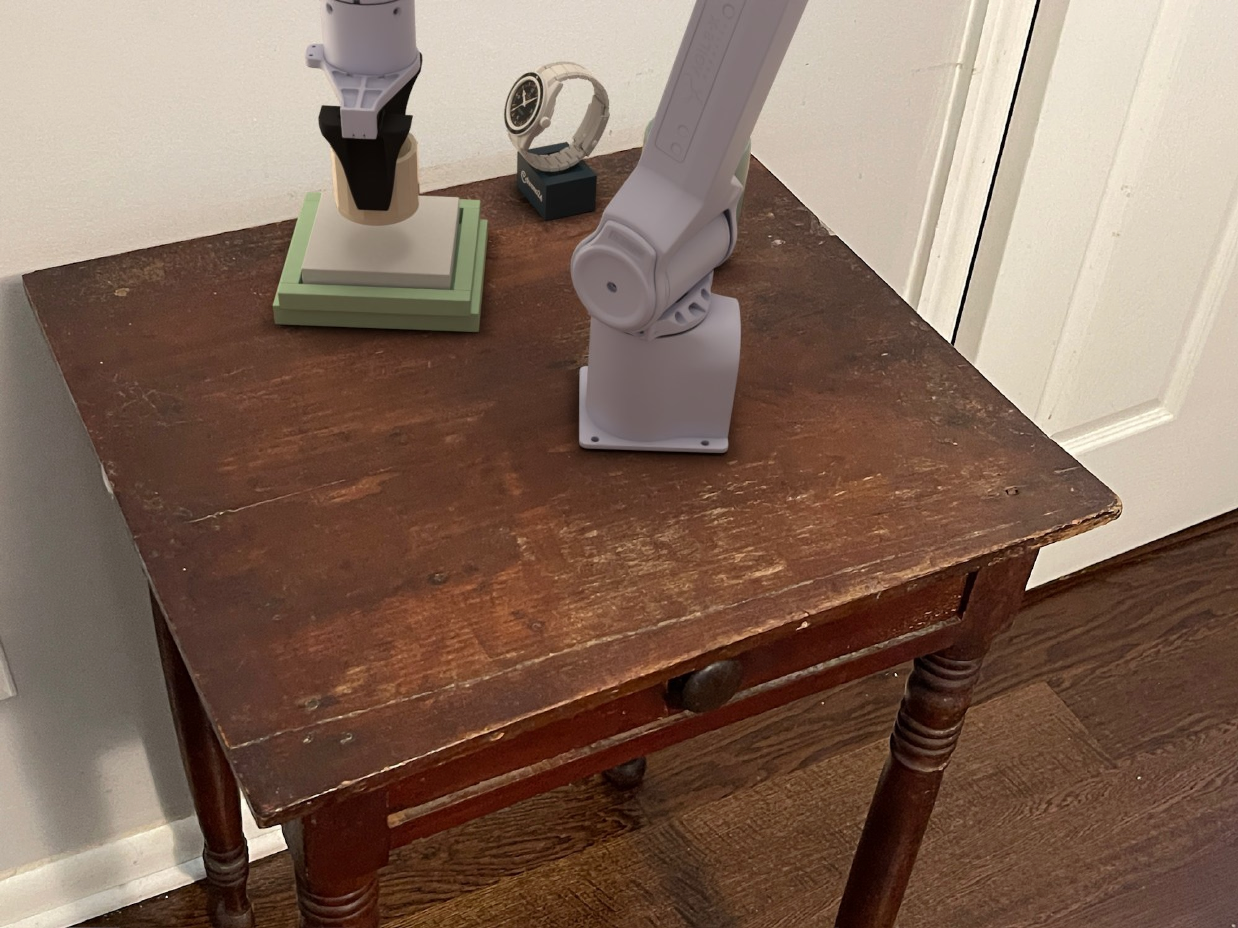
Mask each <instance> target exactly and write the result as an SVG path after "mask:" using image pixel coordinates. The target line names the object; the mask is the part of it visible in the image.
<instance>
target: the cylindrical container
mask: <svg viewBox="0 0 1238 928" xmlns="http://www.w3.org/2000/svg"><path fill="white" fill-rule="evenodd" d="M329 148H330V149H329V151H330V162H331V174H332V183H333V184H332V185H333V192H334V197H335V201H336V208H337V210H338V212H339V213H340V214H341V215H342V216H343V217H345V218H346V219H348V220H350V221H352V222H355V223H358V224H362V225H369V226H385V225H391V224H396V223H399V222H402V221H404V220H406V219H408V218H410V217H411V216H412V215H414V214H415V213H416V211H417V210H418V208H419V196H421V192H420V191H421V190H420V165H419V164H420V162H419V143H418V141H417V139H416V137H415V135H414V134H413V133H411V132H409V133H408V136H407V138H406V140H405V142H404V144H403V145H402V147H401V150H400V152H399V155H398V158H397V162H396V170H395V179H394V188H393V194H392V199H391V204H390V207H389V210H388V211H373V210H358V209H357V207H356V205H355V202H354V200H353V197H352V194H351V191H350V188H349V185H348V182H347V179H346V176H345V173H344V170H343V167H342V165H341V162H340V160H339V158H338V157H337V155H336V153H335V151H334V150H333V148H332V147H331V145H329Z"/></svg>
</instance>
